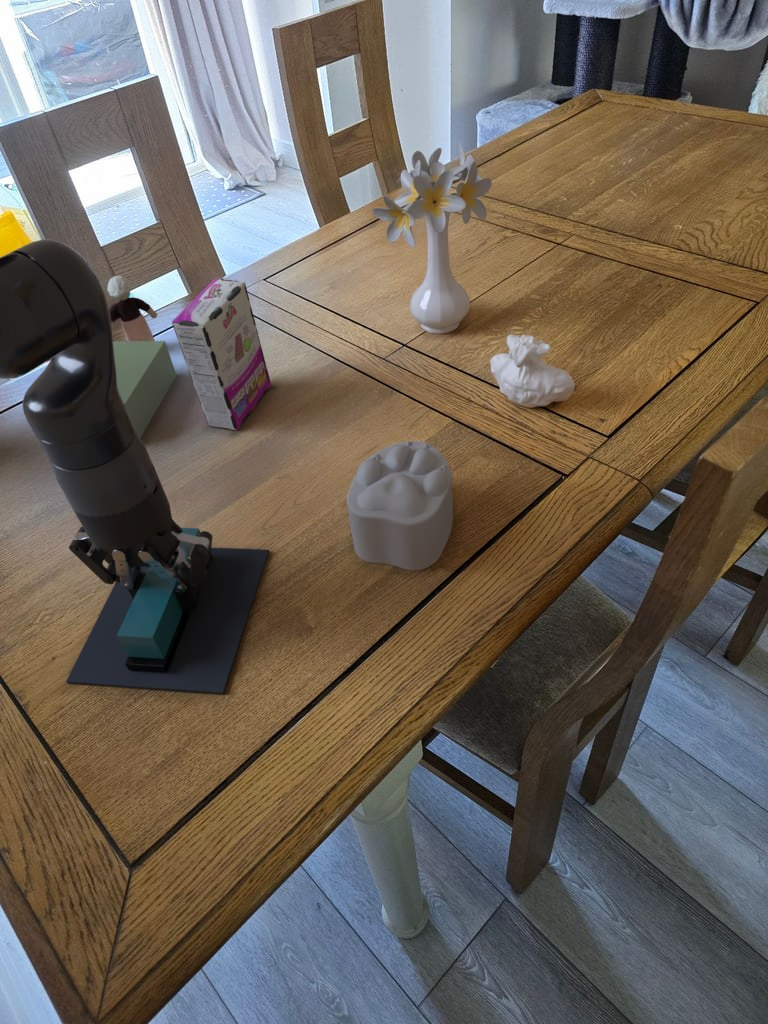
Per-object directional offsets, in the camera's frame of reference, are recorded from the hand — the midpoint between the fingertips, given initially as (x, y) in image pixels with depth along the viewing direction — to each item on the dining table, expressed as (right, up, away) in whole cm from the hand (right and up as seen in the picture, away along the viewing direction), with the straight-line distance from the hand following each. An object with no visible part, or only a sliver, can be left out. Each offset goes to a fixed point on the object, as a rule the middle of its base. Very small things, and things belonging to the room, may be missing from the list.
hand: (170, 603), depth 72 cm
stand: (-15, +24, +28) cm, 40 cm away
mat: (0, -1, +1) cm, 2 cm away
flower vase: (+31, +38, +37) cm, 62 cm away
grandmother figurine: (-16, +35, +39) cm, 55 cm away
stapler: (0, -1, +1) cm, 1 cm away
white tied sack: (+41, +25, +22) cm, 53 cm away
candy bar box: (+2, +24, +27) cm, 36 cm away
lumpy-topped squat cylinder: (+25, +8, +8) cm, 27 cm away
